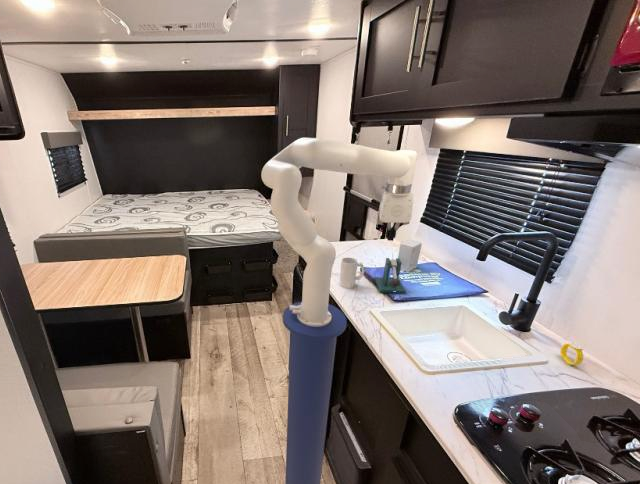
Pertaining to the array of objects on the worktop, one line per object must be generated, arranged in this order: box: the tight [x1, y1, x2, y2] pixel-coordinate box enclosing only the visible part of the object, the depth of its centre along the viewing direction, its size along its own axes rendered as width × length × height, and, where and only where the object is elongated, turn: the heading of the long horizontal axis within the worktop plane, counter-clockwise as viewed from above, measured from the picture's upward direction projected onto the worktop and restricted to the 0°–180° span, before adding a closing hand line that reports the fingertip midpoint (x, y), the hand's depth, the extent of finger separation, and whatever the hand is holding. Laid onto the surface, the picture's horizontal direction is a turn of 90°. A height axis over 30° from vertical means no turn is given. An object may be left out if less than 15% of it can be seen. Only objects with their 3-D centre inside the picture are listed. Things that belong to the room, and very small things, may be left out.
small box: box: [397, 239, 423, 273], centre depth 150 cm, size 8×6×13 cm
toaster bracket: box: [373, 257, 406, 295], centre depth 134 cm, size 12×10×13 cm
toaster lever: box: [390, 259, 401, 286], centre depth 130 cm, size 12×3×3 cm
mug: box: [339, 256, 365, 289], centre depth 137 cm, size 10×7×12 cm, turn 82°
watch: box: [560, 342, 584, 366], centre depth 91 cm, size 6×3×6 cm, turn 169°
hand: (389, 239), depth 114 cm, fingers closed
